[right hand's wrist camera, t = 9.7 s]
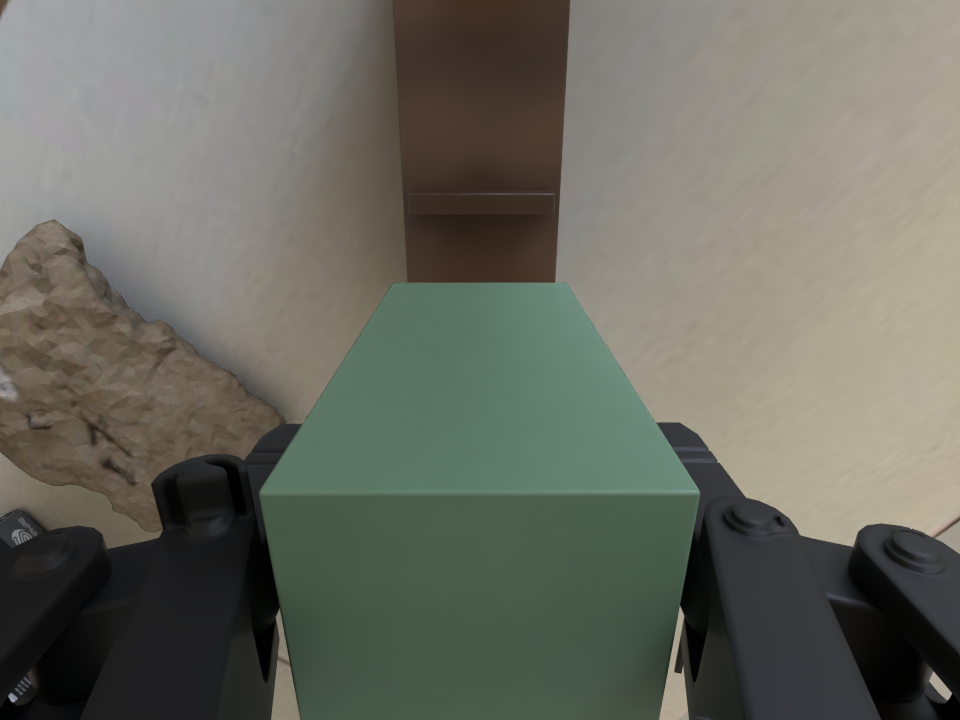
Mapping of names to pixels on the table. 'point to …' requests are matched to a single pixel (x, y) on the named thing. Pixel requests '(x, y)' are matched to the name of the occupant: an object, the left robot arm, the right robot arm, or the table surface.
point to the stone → (106, 382)
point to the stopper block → (479, 519)
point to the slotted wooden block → (481, 137)
